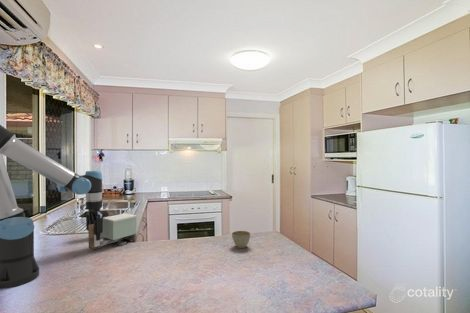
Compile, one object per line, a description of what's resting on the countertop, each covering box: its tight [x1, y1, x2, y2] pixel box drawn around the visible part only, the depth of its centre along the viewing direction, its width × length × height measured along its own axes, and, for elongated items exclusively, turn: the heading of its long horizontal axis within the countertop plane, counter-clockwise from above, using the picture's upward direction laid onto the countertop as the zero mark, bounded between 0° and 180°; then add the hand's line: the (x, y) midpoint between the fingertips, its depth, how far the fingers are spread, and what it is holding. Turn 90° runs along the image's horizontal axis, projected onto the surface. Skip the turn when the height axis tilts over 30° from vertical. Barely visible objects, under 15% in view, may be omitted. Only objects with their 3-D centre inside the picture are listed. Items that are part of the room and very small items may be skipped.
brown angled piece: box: [88, 224, 122, 250], centre depth 142 cm, size 17×4×12 cm, turn 146°
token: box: [116, 239, 128, 246], centre depth 145 cm, size 5×5×2 cm
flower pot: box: [231, 230, 251, 249], centre depth 141 cm, size 10×10×7 cm
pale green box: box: [102, 212, 138, 243], centre depth 146 cm, size 14×11×15 cm
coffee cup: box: [100, 210, 110, 240], centre depth 157 cm, size 8×8×15 cm
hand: (94, 245), depth 136 cm, fingers closed on brown angled piece, 4 cm apart
